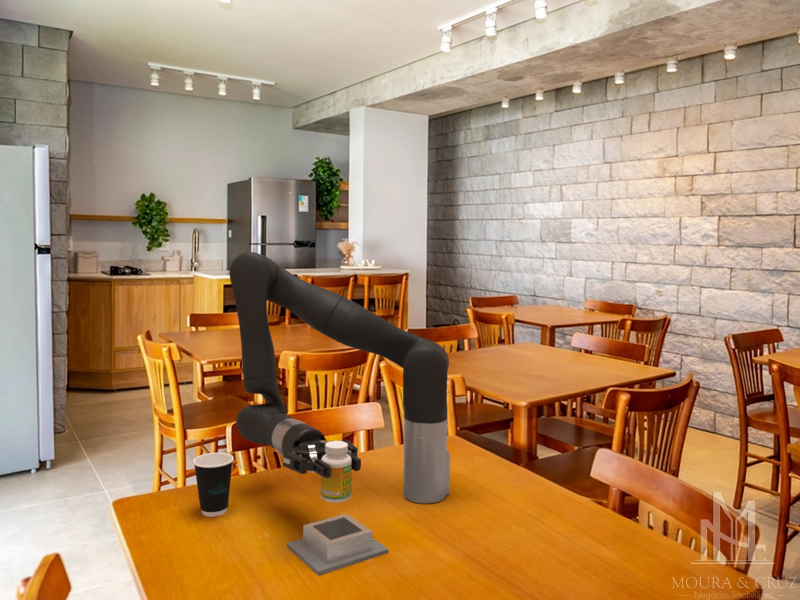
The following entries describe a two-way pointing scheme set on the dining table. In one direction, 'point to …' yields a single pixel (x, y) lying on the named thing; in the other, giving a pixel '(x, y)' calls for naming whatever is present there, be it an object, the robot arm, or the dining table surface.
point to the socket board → (335, 544)
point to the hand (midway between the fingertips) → (344, 468)
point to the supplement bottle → (337, 473)
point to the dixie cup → (213, 482)
